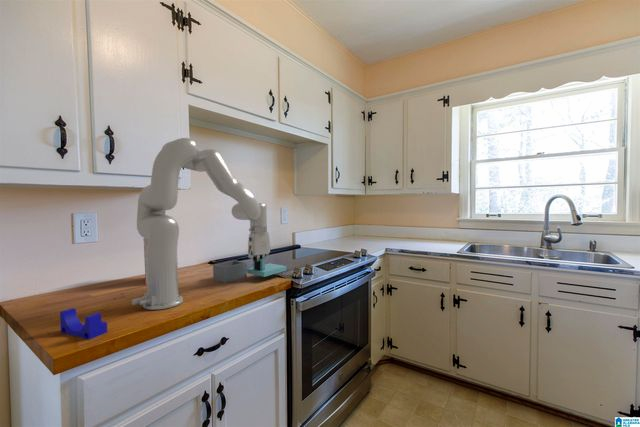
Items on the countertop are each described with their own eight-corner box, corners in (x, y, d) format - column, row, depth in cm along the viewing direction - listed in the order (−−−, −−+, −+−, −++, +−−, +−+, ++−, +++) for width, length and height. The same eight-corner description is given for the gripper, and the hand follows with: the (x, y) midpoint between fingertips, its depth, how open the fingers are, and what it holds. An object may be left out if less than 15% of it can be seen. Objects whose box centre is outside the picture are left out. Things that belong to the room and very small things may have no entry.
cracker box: (147, 277, 138) (146, 233, 137) (162, 276, 140) (161, 233, 139) (144, 285, 125) (142, 237, 124) (160, 283, 128) (159, 236, 127)
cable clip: (107, 332, 81) (106, 311, 81) (89, 340, 77) (89, 317, 76) (78, 326, 85) (78, 306, 85) (60, 333, 81) (60, 311, 81)
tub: (225, 282, 129) (225, 267, 129) (213, 279, 134) (213, 264, 134) (246, 277, 139) (246, 262, 139) (234, 274, 144) (234, 260, 144)
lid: (264, 276, 130) (264, 261, 130) (247, 273, 137) (246, 258, 137) (286, 270, 142) (286, 255, 142) (269, 267, 149) (269, 253, 148)
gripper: (250, 231, 126) (251, 274, 127) (276, 228, 138) (276, 267, 139) (239, 230, 130) (240, 271, 131) (265, 228, 143) (265, 265, 144)
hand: (259, 269), depth 135 cm, fingers closed on lid, 1 cm apart
